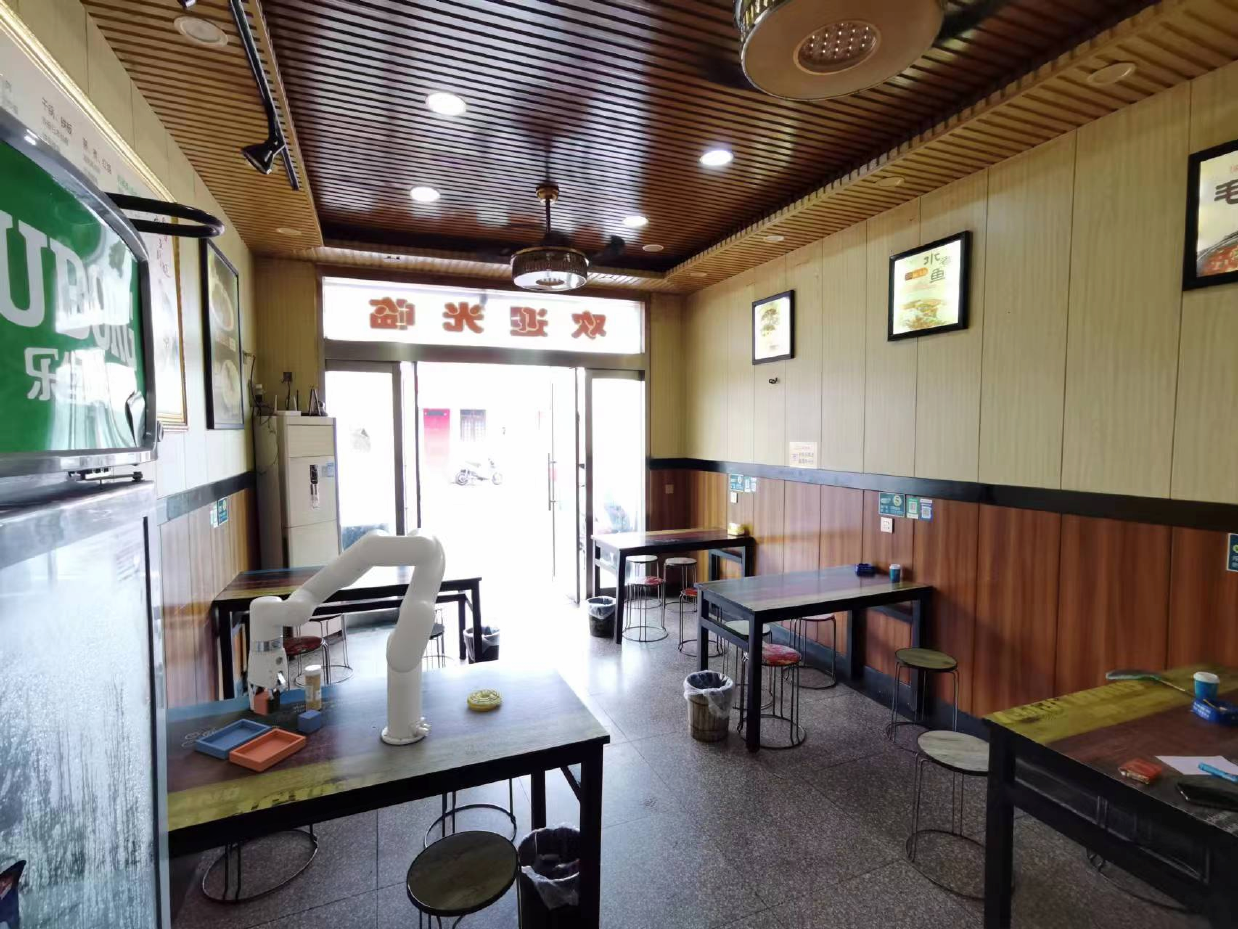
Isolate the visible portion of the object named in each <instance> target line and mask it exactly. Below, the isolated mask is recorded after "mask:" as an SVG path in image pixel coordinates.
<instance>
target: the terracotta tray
mask: <svg viewBox="0 0 1238 929" xmlns="http://www.w3.org/2000/svg"><path fill="white" fill-rule="evenodd" d="M306 745H307V737H306V736H304V735H300V734H296V733H293V732H290V731H286V730H283V729H279V728H274V729H271V731H270V732H268V733H266V734H264V735H262V736H260V737H258V738H256V739H254V740H252V741H251V742H249V743H247V744H245V745H243V746H241V747H239V748H237V749H235V750H233V751H231V752H229V758H228V759H229V762H230V763H233V764H236V765H239V766H242V767H245V768H248V769H251V770H254V771H257V772H260V773H261V772H263V771H265V770H267V769H268V768H269V767H271V766H273V765H275V764H277V763H278V762H280V761H282V760H284V759H286V758H288V757H289V756H291V755H292V754H294V753H296V752H298V751H300V750H301V749H302V748H305V747H306Z"/></svg>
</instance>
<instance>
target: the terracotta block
mask: <svg viewBox="0 0 1238 929" xmlns="http://www.w3.org/2000/svg"><path fill="white" fill-rule="evenodd" d="M273 692H275V691H273ZM268 699H270V698H269V692H268V690H267V691H265V692H263V693H260V694H258V695H256V696H254V710H253V713H255V714H258V715H261V716H268V715H269V714H268Z"/></svg>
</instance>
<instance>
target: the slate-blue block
mask: <svg viewBox="0 0 1238 929" xmlns="http://www.w3.org/2000/svg"><path fill="white" fill-rule="evenodd" d="M322 727H323V712H322V711H319V710H318V711H315V710H309V711H305V712H303V713H301V714H299V715H297V730H298V732H302V733H306V734H312V733H313V732H315V731H317V730H319V729H320V728H322Z"/></svg>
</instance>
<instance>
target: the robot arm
mask: <svg viewBox="0 0 1238 929" xmlns="http://www.w3.org/2000/svg"><path fill="white" fill-rule="evenodd" d="M374 567H381V568H383V567H384V568H385V567H389V568H390V567H391V568H393V567H414V568H413V571H412V575H411V579H410V581H409V584H408V587H407V589H406V591H405V595H404V597H403V599H402V602H401V604H400V606H399V615H398V618H397V622H396V625H395V628H394V629H393V630H391V631H390V633H389V635H388V637H387V640H386V651H385V659H386V725H387V726H385V727H384V728H383V729H382V730H381V734H380V735H381V740H382V741H383V742H385V743H386V744H389V745H397V746H398V745H407V744H412V743H416V741H419V740H421V739H422V738H423V737H428V736H429V735H430V732H431V730H432V727H433V726H432V725H430V724H427V723H426V717H424V716H423V657H424V655H425V652H426V649H427V646H428V644H429V640H430V637H431V635H432V633H433V629H434V627H435V622H436V616H437V612H436V603H437V602H436V601H437V599H438V596H439V592H440V588H441V586H442V583H443V579H444V576H445V571H446V555H445V549H444V547H443V545H442V543H441V541H440V539H439V538H438V537H437V536H436V535H435V534H434V532H432V531H430V530H429V529H427V528H423V527H417V528H414V529H412V530H410V531H409V532H408V533H407V535H390V534H389V533H388V532H386V531H385V530H382V529H379V528H378V529H371V530H369V531H367V532H366V533H364V534H363V535H362V536H360V538H358V539H357V540H356V541H355V542H353V543H352V544H351V545H350V546H349V547H347V548H346V549H345V550H344V551H342V552H341V553H340V554H339V555H338V556H336V557H334V559H332V560H331V561H330V562H328V563H327V564H326V565H325V566H324V567H323V568H322V569H321V570H319V571H318V572H316V573H315V574H314V575H313V576H312V577H310V578H308V580H306V581H305V582H304V583H303V584H302V585H300V586H299V587H298V588H297V589H295V590H294V591H293V592H292V593H291V594H289V597H288V598H287V599H285V600H283V599H282V598H281V597H279V596H274V595H267V596H266V595H265V596H261V597H260V596H259V597H257V598H255V599H253V600H252V601H251V602H250V604H249V653H248V661H247V662H248V663H247V677H246V682H247V684H248V683H249V684H250V686H251V688H252V690H253V692H252V693H253V695H255V696H256V695H258V694H260V693H263V692H265V688H268V692H269V698H270V699H268V715H272V714H274V713H276V712H279V711H280V710H281V697H282V696H283V694H284V692H286V691H287V690H288V689H289V686H288V684H287V683H289V669H288V659H287V653H286V649H285V648H284V633H283V631H284V630H283V628H284V627H291V628H293V627H294V628H295V627H301V626H303V625H306V624H307V623H308V622H309V621H310V619H311V618H312V616H313V614H314V612H315V610H316V609H317V608H318V607H319V606H320V605H321V604H323V603H324V602H325V601H326V600H327V599H328V598H330V597H331V596H332V595H334V594H335V593H336V592H338V591H339V590H341V589H345V588H348V587H350V586H352V585H354V584H355V583H356V582H357V581H358V580H360V579H361V578H362V577H363V576H364V575H366V574H367V573H368V572H369V571H370V570H371V569H372V568H374ZM275 684H276V685H275ZM275 688H276V691H275V692H273V689H275Z"/></svg>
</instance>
